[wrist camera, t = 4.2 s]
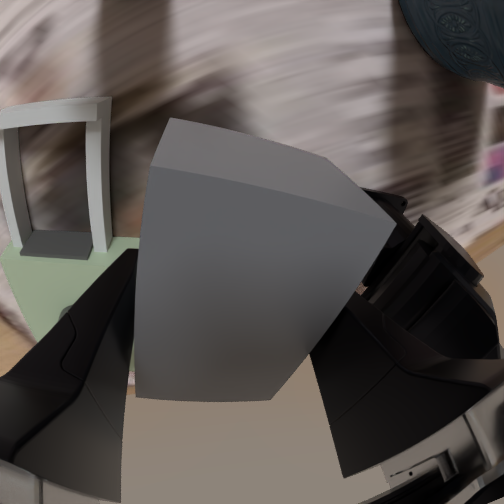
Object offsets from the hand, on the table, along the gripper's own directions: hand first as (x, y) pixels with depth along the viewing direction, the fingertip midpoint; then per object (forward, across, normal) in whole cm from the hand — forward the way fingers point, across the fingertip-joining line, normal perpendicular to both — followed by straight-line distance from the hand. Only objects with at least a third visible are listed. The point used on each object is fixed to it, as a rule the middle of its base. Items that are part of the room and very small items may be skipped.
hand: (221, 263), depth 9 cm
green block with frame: (+11, +9, +9) cm, 17 cm away
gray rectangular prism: (+1, 0, 0) cm, 1 cm away
